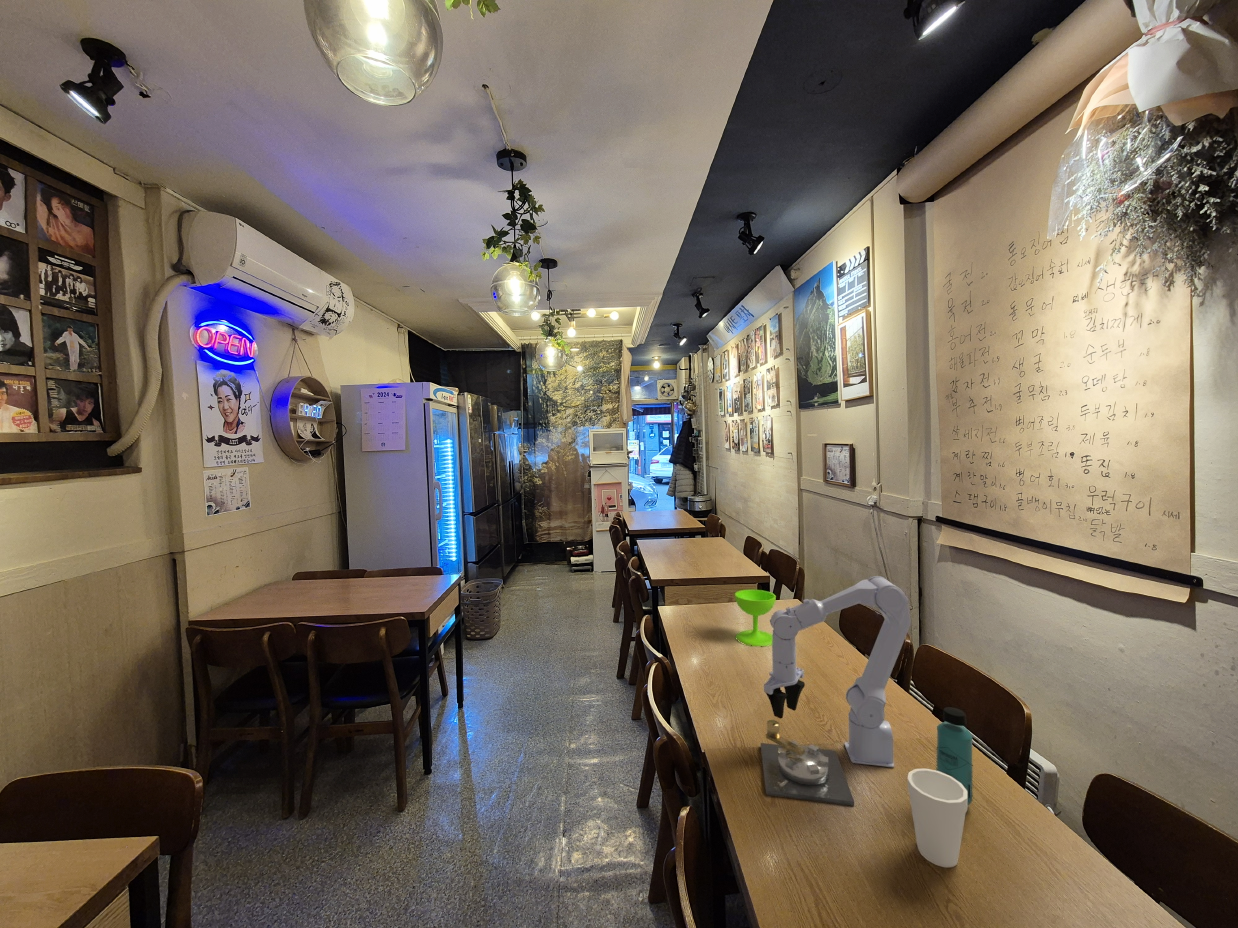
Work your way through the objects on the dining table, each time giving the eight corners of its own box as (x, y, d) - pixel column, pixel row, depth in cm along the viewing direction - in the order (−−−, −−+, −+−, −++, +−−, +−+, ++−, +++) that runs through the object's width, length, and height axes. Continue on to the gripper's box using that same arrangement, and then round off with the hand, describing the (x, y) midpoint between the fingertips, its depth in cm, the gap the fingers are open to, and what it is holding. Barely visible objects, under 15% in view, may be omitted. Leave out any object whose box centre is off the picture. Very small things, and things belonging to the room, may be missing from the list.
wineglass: (727, 636, 200) (726, 592, 200) (757, 629, 207) (757, 587, 206) (753, 649, 185) (752, 603, 185) (785, 642, 192) (784, 597, 192)
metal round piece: (837, 770, 113) (837, 739, 112) (811, 791, 106) (811, 758, 106) (781, 741, 125) (780, 713, 124) (754, 758, 118) (754, 728, 118)
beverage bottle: (938, 788, 108) (937, 699, 108) (974, 801, 104) (974, 708, 103) (934, 804, 103) (933, 711, 102) (972, 819, 99) (972, 722, 98)
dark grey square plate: (835, 754, 120) (835, 750, 120) (854, 805, 103) (854, 800, 103) (760, 746, 124) (760, 742, 124) (766, 794, 107) (766, 789, 107)
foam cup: (944, 832, 95) (944, 767, 95) (981, 873, 86) (980, 801, 86) (897, 834, 95) (896, 769, 95) (929, 875, 86) (928, 803, 86)
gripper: (786, 647, 130) (787, 697, 131) (753, 662, 121) (754, 715, 122) (811, 655, 125) (811, 707, 125) (777, 671, 116) (778, 728, 116)
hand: (784, 712), depth 123 cm, fingers open, 5 cm apart
